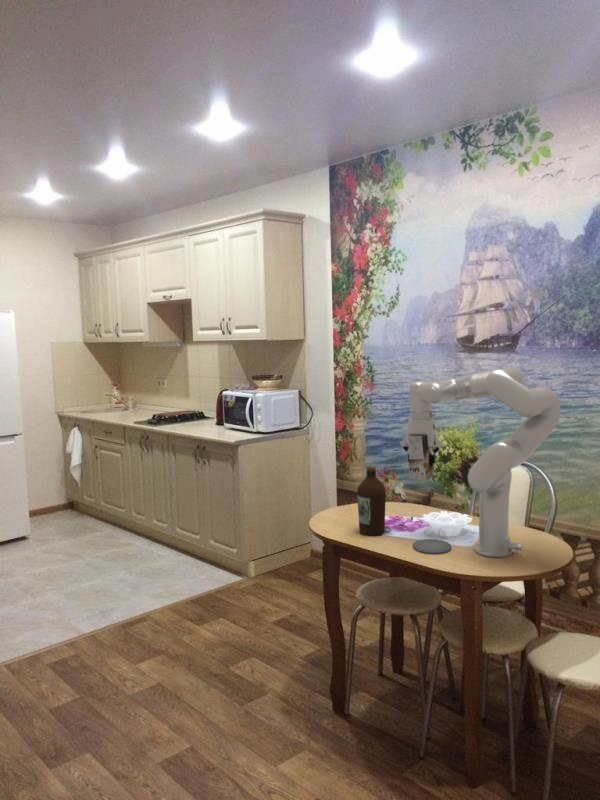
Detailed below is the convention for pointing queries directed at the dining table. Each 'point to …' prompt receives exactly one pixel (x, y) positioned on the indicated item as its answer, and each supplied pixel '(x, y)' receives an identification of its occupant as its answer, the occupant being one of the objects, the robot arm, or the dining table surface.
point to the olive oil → (371, 504)
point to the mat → (432, 546)
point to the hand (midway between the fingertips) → (421, 464)
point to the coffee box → (419, 458)
